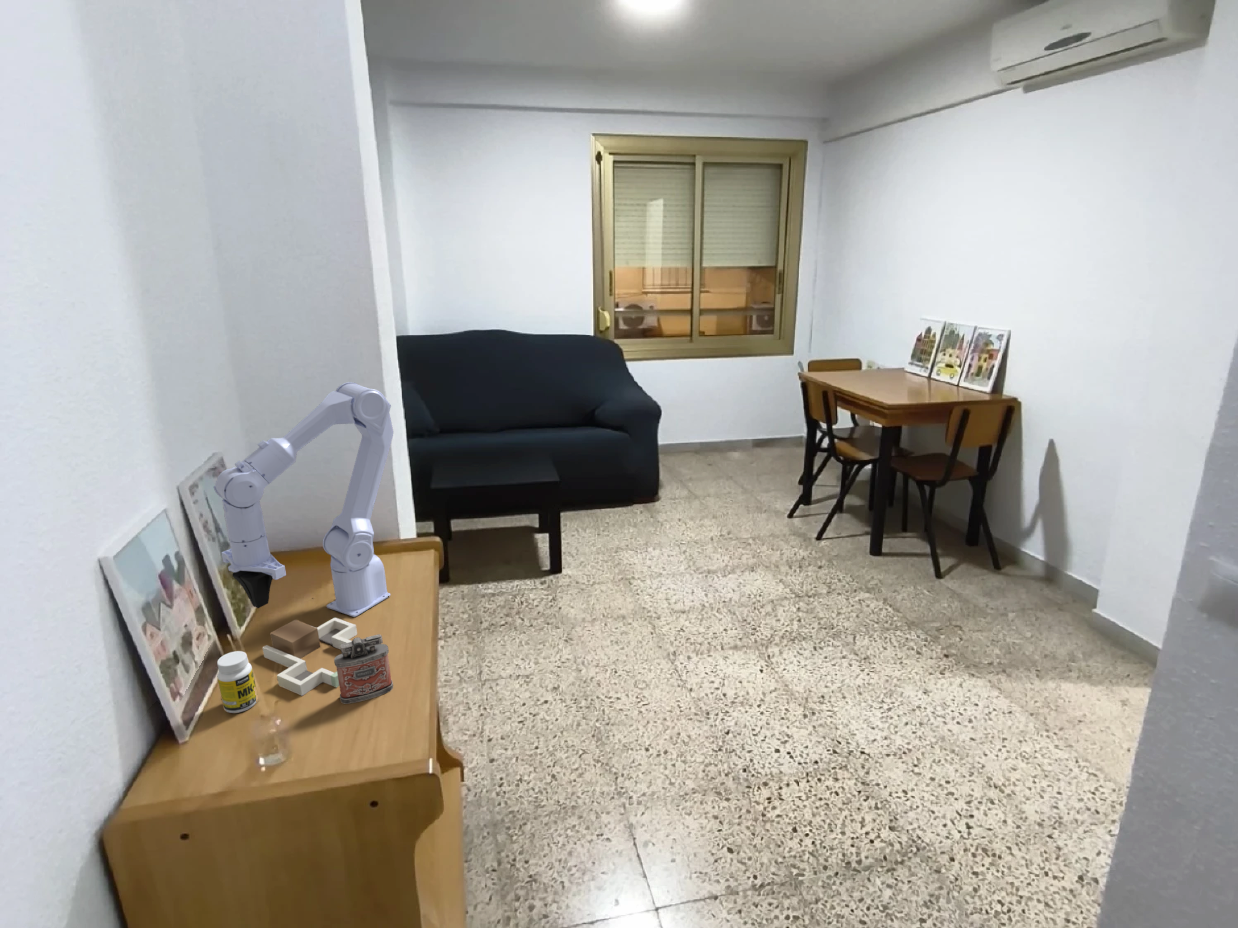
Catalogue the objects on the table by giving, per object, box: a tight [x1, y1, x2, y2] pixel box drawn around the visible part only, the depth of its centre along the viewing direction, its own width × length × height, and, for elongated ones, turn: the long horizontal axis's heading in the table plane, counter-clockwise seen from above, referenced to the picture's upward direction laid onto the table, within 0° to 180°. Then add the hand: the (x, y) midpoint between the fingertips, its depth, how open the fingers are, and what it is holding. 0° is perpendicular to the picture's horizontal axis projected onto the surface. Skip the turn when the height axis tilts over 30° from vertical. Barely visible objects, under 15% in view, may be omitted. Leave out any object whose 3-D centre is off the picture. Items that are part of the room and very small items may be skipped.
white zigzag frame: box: [262, 617, 358, 697], centre depth 116 cm, size 17×18×2 cm
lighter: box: [333, 633, 394, 705], centre depth 106 cm, size 8×3×10 cm, turn 118°
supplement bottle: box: [216, 650, 257, 714], centre depth 104 cm, size 5×5×8 cm
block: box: [269, 619, 321, 659], centre depth 118 cm, size 5×6×4 cm
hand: (261, 604), depth 120 cm, fingers closed
